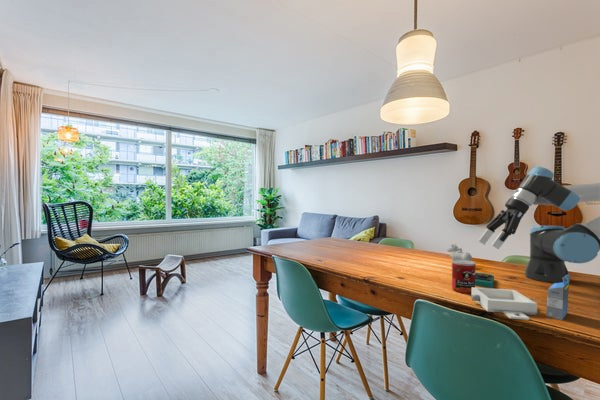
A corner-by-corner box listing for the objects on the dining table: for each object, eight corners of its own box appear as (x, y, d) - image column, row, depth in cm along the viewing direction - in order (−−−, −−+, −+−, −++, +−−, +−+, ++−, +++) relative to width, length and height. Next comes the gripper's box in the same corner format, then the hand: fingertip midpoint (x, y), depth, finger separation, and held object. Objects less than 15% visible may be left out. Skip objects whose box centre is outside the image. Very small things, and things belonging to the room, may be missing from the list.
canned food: (455, 293, 109) (455, 263, 108) (449, 286, 116) (449, 258, 116) (478, 295, 107) (478, 264, 107) (471, 288, 114) (471, 260, 114)
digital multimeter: (494, 280, 127) (494, 274, 127) (493, 289, 115) (493, 281, 115) (474, 278, 131) (474, 271, 131) (471, 286, 119) (471, 278, 119)
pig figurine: (450, 262, 160) (450, 243, 160) (473, 267, 149) (473, 246, 149) (444, 263, 158) (444, 243, 158) (467, 268, 147) (467, 247, 147)
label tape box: (551, 309, 93) (552, 270, 93) (569, 313, 90) (569, 273, 90) (545, 316, 88) (546, 275, 88) (563, 321, 85) (564, 278, 84)
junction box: (513, 296, 106) (514, 286, 106) (554, 322, 84) (554, 309, 84) (460, 292, 109) (461, 283, 109) (486, 316, 87) (486, 304, 87)
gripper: (497, 197, 133) (468, 236, 135) (528, 196, 108) (492, 243, 110) (513, 207, 131) (483, 246, 133) (547, 207, 107) (511, 255, 109)
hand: (487, 244), depth 122 cm, fingers open, 13 cm apart
